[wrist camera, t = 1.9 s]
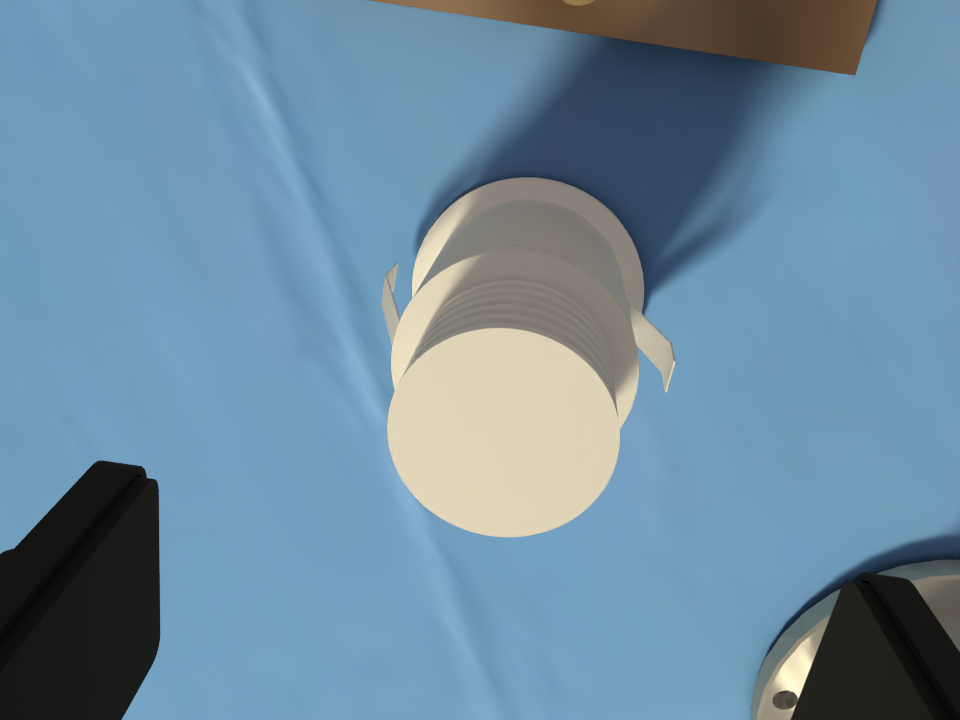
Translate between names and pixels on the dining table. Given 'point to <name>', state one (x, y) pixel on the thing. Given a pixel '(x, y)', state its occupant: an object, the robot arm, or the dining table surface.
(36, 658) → the robot arm
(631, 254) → the downlight
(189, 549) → the dining table surface
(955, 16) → the dining table surface
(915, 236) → the dining table surface
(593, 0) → the pin board
